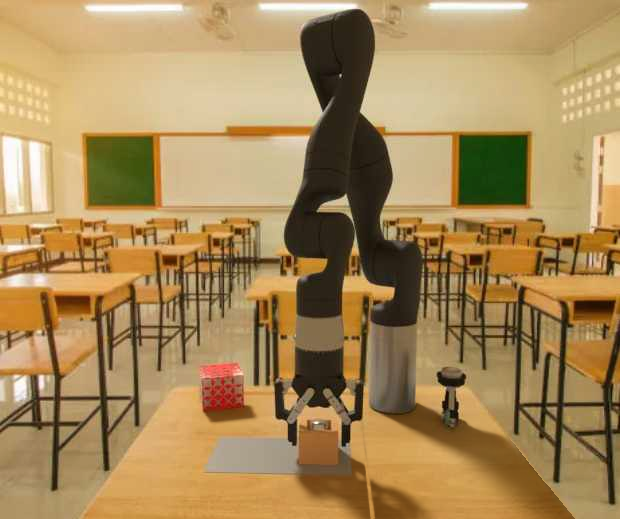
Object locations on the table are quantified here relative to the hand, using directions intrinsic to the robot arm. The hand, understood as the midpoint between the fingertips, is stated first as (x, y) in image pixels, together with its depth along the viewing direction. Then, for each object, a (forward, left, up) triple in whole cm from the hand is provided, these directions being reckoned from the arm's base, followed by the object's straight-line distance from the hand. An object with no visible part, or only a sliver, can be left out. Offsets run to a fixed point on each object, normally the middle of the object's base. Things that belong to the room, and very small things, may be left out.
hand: (318, 444), depth 88 cm
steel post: (0, 0, -3) cm, 3 cm away
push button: (-17, +24, -4) cm, 30 cm away
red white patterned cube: (-22, -20, -4) cm, 30 cm away
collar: (0, 0, -2) cm, 2 cm away
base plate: (0, -6, -3) cm, 7 cm away
